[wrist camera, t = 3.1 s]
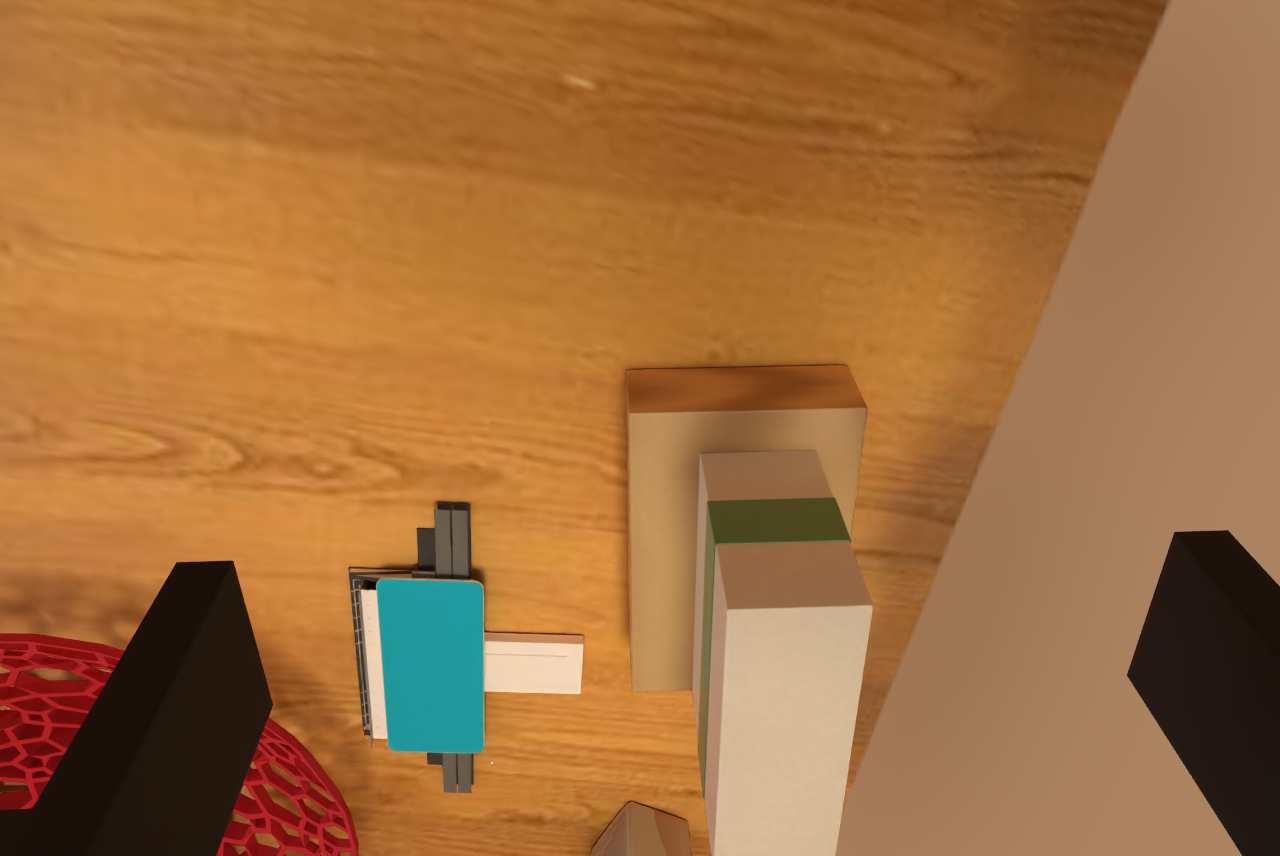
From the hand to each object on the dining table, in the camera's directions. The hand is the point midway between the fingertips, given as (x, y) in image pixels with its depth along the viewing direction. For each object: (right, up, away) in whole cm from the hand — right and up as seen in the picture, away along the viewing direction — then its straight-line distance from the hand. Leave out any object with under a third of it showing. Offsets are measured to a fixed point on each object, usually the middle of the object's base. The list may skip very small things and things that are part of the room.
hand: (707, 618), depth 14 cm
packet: (+4, -7, +27) cm, 28 cm away
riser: (+3, -1, +34) cm, 34 cm away
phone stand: (-10, -9, +39) cm, 41 cm away
